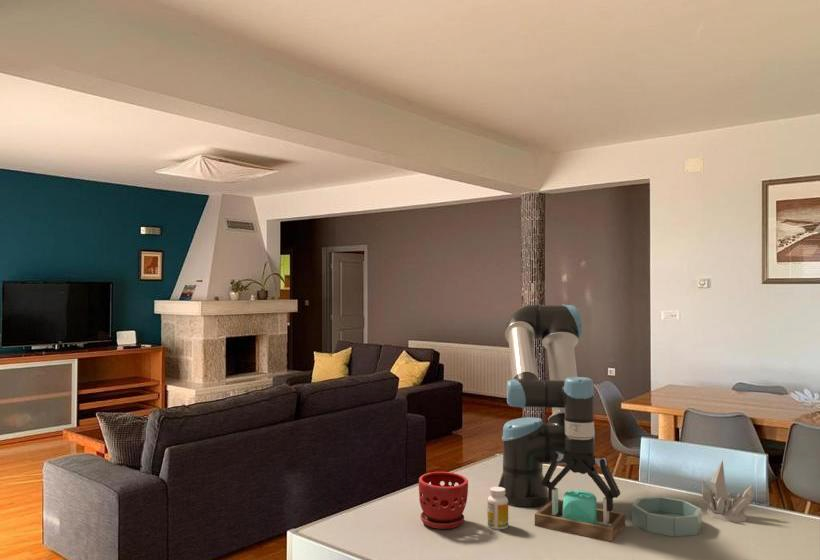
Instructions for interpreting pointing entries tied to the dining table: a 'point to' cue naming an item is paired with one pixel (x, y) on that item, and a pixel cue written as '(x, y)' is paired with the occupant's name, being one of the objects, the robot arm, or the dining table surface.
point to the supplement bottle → (497, 508)
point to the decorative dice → (580, 506)
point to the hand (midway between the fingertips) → (580, 518)
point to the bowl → (666, 516)
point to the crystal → (725, 499)
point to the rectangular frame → (581, 523)
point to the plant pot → (442, 499)
